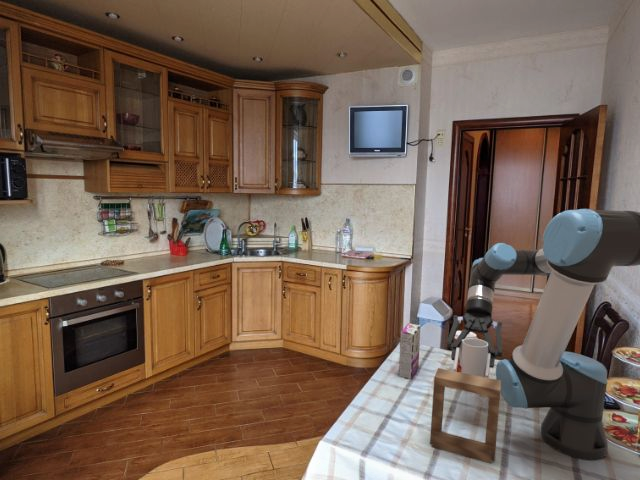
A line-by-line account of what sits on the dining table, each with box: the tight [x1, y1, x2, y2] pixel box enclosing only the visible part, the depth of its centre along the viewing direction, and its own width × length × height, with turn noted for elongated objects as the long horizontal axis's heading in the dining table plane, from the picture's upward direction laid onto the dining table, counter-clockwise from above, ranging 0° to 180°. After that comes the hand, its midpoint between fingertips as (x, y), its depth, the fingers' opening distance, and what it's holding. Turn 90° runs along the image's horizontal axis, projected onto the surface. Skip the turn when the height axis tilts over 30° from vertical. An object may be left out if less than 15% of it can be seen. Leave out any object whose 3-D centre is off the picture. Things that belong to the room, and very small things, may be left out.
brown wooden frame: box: [429, 367, 501, 464], centre depth 106 cm, size 15×7×18 cm, turn 65°
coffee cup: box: [453, 330, 478, 373], centre depth 150 cm, size 8×8×15 cm
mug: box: [459, 338, 489, 377], centre depth 119 cm, size 10×7×12 cm, turn 17°
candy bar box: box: [398, 323, 422, 380], centre depth 150 cm, size 11×5×16 cm, turn 155°
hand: (470, 374), depth 116 cm, fingers closed on mug, 8 cm apart
